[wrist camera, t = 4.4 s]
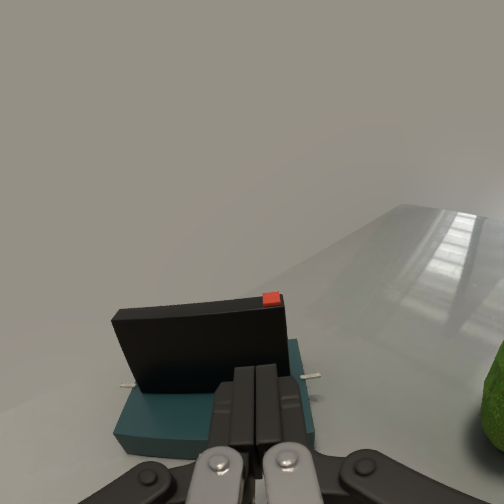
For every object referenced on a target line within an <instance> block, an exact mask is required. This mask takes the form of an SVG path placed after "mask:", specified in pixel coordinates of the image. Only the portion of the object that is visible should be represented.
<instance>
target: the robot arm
mask: <svg viewBox="0 0 504 504" xmlns="http://www.w3.org/2000/svg"><path fill="white" fill-rule="evenodd" d="M262 471H263V475H264V479H265V487H266V495H267V504H490V503H488V502H485V501H482V500H480V499H477V498H475V497H472V496H470V495H467V494H465V493H462V492H460V491H458V490H455V489H453V488H451V487H448V486H446V485H444V484H442V483H440V482H437V481H435V480H433V479H431V478H429V477H427V476H425V475H423V474H421V473H419V472H417V471H415V470H413V469H411V468H409V467H407V466H405V465H403V464H401V463H399V462H397V461H395V460H393V459H391V458H389V457H388V456H386V455H384V454H382V453H380V452H378V451H376V450H372V449H362V450H357V451H355V452H352V453H351V454H349V455H348V456H347V457H334V456H326V455H323V454H321V453H318V452H317V451H315V450H314V449H313V448H312V447H311V445H310V444H309V442H308V437H307V431H306V424H305V418H304V411H303V406H302V399H301V393H300V387H299V384H298V383H297V381H296V380H295V379H294V378H293V376H284V377H277V368H276V364H268V365H258V366H256V368H255V366H248V367H236V368H235V369H234V380H233V381H230V382H221V384H220V385H219V387H218V388H217V390H216V391H215V394H214V400H213V407H212V414H211V420H210V427H209V434H208V440H207V447H206V450H205V451H204V452H203V453H202V454H201V455H200V456H199V457H198V459H197V460H196V461H195V462H193V463H191V464H188V465H184V466H179V467H175V468H170V469H168V468H167V467H166V466H164V465H163V464H161V463H159V462H154V461H147V462H143V463H140V464H138V465H136V466H135V467H133V468H132V469H130V470H129V471H128V472H126V473H125V474H123V475H122V476H120V477H119V478H117V479H116V480H114V481H113V482H111V483H110V484H108V485H107V486H105V487H103V488H102V489H100V490H99V491H97V492H96V493H94V494H92V495H91V496H89V497H88V498H86V499H84V500H83V501H81V502H79V503H78V504H255V479H263V476H262Z"/></svg>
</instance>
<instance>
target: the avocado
mask: <svg viewBox="0 0 504 504" xmlns="http://www.w3.org/2000/svg"><path fill="white" fill-rule="evenodd" d="M480 417H481V422H482V426H483V430H484V432H485V434H486V435H487V437H488V438H489V440H490V441H491V442H492V444H493V445H494V446H495V447H496V448H498V449H500V450H501V451H503V452H504V341H503V343H502V344H501V346H500V348H499V350H498V353H497V355H496V357H495V360H494V362H493V364H492V366H491V369H490V371H489V373H488V375H487V377H486V379H485V381H484V389H483V398H482V406H481V412H480Z"/></svg>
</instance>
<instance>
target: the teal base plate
mask: <svg viewBox="0 0 504 504" xmlns="http://www.w3.org/2000/svg"><path fill="white" fill-rule="evenodd" d="M288 349H289V360H290V373H291V376H293V378H294V379H295V380H296V381H297V383H298V384H299V387H300V393H301V399H302V406H303V411H304V418H305V424H306V431H307V437H308V442H309V444H310V445H311V447H312V448H313V449H314V440H315V431H314V425H313V420H312V414H311V409H310V403H309V398H308V393H307V387H306V382H305V379H312V378H319V377H321V375H320V373H313V374H306V375H304V372H303V367H302V362H301V356H300V351H299V346H298V341H297V339H291V340H288ZM120 387H124V388H132V390H131V393H130V395H129V397H128V399H127V402H126V404H125V406H124V409H123V411H122V413H121V415H120V418H119V420H118V422H117V425H116V427H115V430H114V432H113V434H114V436H115V437H116V439H117V440H118V442H119V443H120V444H121V446H122V447H123V449H124V450H125V451H126V453H128V454H136V455H144V456H153V457H165V458H179V459H198V457H199V456H200V455H201V454H202V453H203V452H204V451H205V450H206V447H207V440H208V434H209V427H210V420H211V414H212V407H213V400H214V394H215V393H186V394H166V393H141V391H140V389H139V387H138V385H137V383H136V382H135V384H129V383H121V384H120Z"/></svg>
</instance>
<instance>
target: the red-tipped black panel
mask: <svg viewBox="0 0 504 504" xmlns="http://www.w3.org/2000/svg"><path fill="white" fill-rule="evenodd" d="M111 322H112V325H113V328H114V330H115V333H116V335H117V338H118V340H119V343H120V346H121V348H122V351H123V353H124V355H125V358H126V360H127V362H128V365H129V367H130V369H131V372H132V374H133V376H134V378H135V380H136V383H137V385H138V387H139V389H140V391H141V393H166V394H186V393H215V391H216V390H217V388H218V387H219V385H220V384H221V382H230V381H233V380H234V369H235V368H236V367H248V366H255V368H256V366H258V365H268V364H276V368H277V377H284V376H291V373H290V360H289V349H288V337H287V326H286V316H285V306H284V300H283V295H282V294H279V292H271V293H263V296H261V297H252V298H243V299H234V300H224V301H214V302H204V303H193V304H181V305H169V306H157V307H145V308H128V309H119V311H118V312H117V313H116V314H115V316H114V317H113V318H112V320H111Z"/></svg>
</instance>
